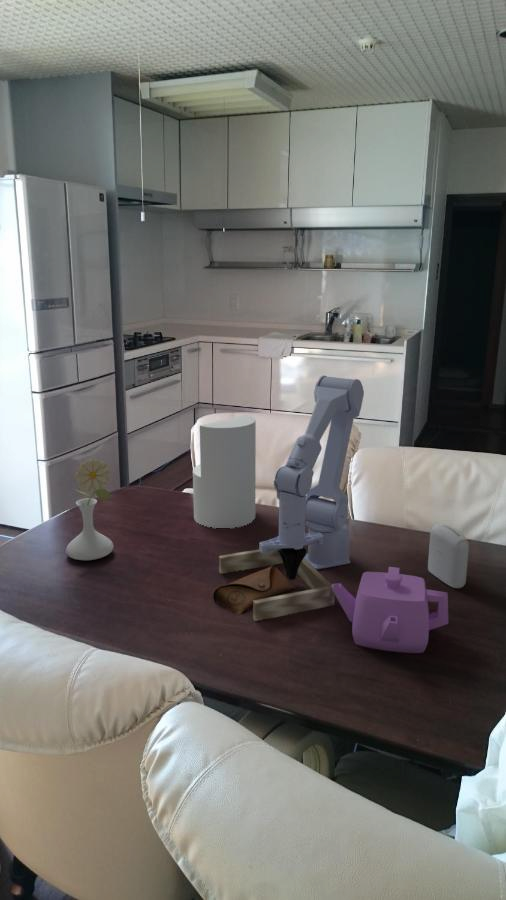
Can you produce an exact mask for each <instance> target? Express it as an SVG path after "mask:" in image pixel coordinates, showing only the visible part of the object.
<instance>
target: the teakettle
mask: <svg viewBox="0 0 506 900" xmlns="http://www.w3.org/2000/svg"><path fill="white" fill-rule="evenodd" d="M400 568H401V567H396V566H395V567H394V566H388V571H387V572H383V571H381V572H380V571H364V572H363V573H362V575H361V579H360V581H359V586H358V587H357V588H358V589H357V593H356V597H354V596H353V595H352V594H351V593H350V592H349V591H348V590H347V588H346V587H344V585H343V584H342V583H331V585H332V590H333V592H334V594H335V597H336V599H337V601H338V602H339V604H340V606H341V608H342V610H343V612H344V613H345V615H346V617H347V619H348V620H349V621H350V622H351V623H352V624H351V625H352V626H351V628H352V629H351V630H352V631H351V632H352V633H351V634H352V638H353V642H354V644H355V645H357V646H359V647H364V648H368V649H369V648H370V649H374V650H381V651H385V652H393V653H394V652H395V653H405V654H406V653H408V654H422V653H424V652H425V650H426V649H427V646H428V643H429V635H430V634H429V633H430V630H435V629H437V628H439V627H442V626H447V625H448V624H449V604H448V603H449V597H448V596H449V595H448V594H449V593H448V592H445V591H440V590H432V589H427V588H426V586H427V585H426V581H425V578H423V577H420V576H416V575H411V574H403V573H400ZM429 602H433V603H437V604H438V605H437V611H434V612H432V613H430V612H429V611H430V609H429Z"/></svg>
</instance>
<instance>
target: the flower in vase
mask: <svg viewBox="0 0 506 900" xmlns="http://www.w3.org/2000/svg"><path fill="white" fill-rule="evenodd" d="M108 465H109V464H107V463H106V462H105V461H102V460H100V459H97V458H92V459H87V460H86V461H84V462H81V463H80V464H79V467H77V469H76V472H75V473H74V474H75V476H74V478H75V480H76V483H77V484H78V485H77V486H78V488H80V489H81V490H83V491H81V490H79V489H77V488H76V487H74V489H75V491H76V492H78V493H79V494H82V495H84V496H87V497H86V498H82V499H81V498H80V499H78V500H76V501H75V505H76V506H77V507H78V509H79V510H80V512H81V516H82V522H83V524H82V526H83V528H82V531H81V532H80V533H79V534H78V535H76V537H74V538H73V539H72V540H71V541H70V542H69V543H68V544H67V546H66V549H65V552H66V555H68V557H70V558H71V559H73V560H79V561H92V560H93V561H94V560H98V559H102V558H104V557H106V556H108V555H110V553H112V551H113V549H114V548H115V547H114V546H115V545H114V543H113V541H112V540H111V539H110V538H109V537H108V536H105V535H103V534H102V533H100V532H98V531H97V530H96V529H95V527H94V522H93V521H94V517H93V516H94V515H93V514H94V509H95V507H96V505H97V503H98V500H97V499H95V498H93V497H94V495H96V496H97V498H98V499H99V500H105V499H106V500H107V499H111V498H112V494H110V492H109V491H108V490H107V489H106V488H105V487H106V486H107V484H108V483H107V482H108V481H109V480H110V478H111V475H112V474H111V472H110V468H109V467H108ZM84 491H87V492H90V493H92V494H91V496H90V495H89V494H88V493H86V492H84ZM88 497H89V498H88Z"/></svg>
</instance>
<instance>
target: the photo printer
mask: <svg viewBox="0 0 506 900" xmlns="http://www.w3.org/2000/svg"><path fill="white" fill-rule="evenodd" d="M429 534H430V535H429V536H430V537H429V546H428V547H429V548H428V558H427V559H428V561H427V570H428V572H429V573H431V575H433V576H434V577H436V578H438V580H440V581H441V582H442V583H444V584H446V585H447V586H449V587H451V588H453V589H461V588H463V587H464V586H465V585H466V583H467V582H466V581H467V571H468V563H469V562H468V560H469V551H470V550H469V548H470V543H469V541H468V539H467V538H466V537H465V535H464V534H462V532H460V531H459V530H457V528H455V527H452V526H451V525H449V524H444V523H439V524H435V525H433V526H432V528H431V530H430V533H429Z"/></svg>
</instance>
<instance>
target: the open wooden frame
mask: <svg viewBox="0 0 506 900" xmlns="http://www.w3.org/2000/svg"><path fill="white" fill-rule="evenodd" d="M280 564H284V563H283V560H282V558H281V556H280V554H279V552H278V550H275V551H269V552H267V553H265V554H262V553H261V552H260V551H259V548H258V549H253V550H248V551H241V552H240V551H239V552H235V553H228V554H224V555H223V554H222V555H219V556H218V571H219V574H221V575H222V574H223V575H224V574H229V572H230V573H235V572H239V570H241V571H246V569H247V570H253V569H256V568H262V567H263V568H264V567H270V566H272V565H275V566H276V565H280ZM234 571H235V572H234ZM297 575H298V576H299V577H300V578H301V579H302V580H303V581H304V582H305V583H306V584H307V586H308V587H310V588H311V589H306V590H302V591H296V592H291V593H284V594H281V595H279V596H275V597H269V598H264V599H259V600H254V601H253V608H252V615H253V617H252V619H253V620H254V622H258V621H259V620H260V621H263V619H265V620H269V619H274V618H278V617H283V616H289V615H294V614H298V612H299V613H301V612H308V611H313V610H318V609H323V608H327V607H332V606H335V597H336V595H335V594H334V592H333V590H332V583H330V582H329V581H328V579H326V577H324V576H323V575H322V574H321V573H320V572H319V571H318V569H317V570H316V569H315V568H314V567H312V566H311V565H310V564H309V563H308V562H307V561H306V560H305V559H304V558H303V560H302V562H301V564H300V566H299V568H298V571H297ZM293 613H294V614H293ZM288 614H289V615H288Z"/></svg>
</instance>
